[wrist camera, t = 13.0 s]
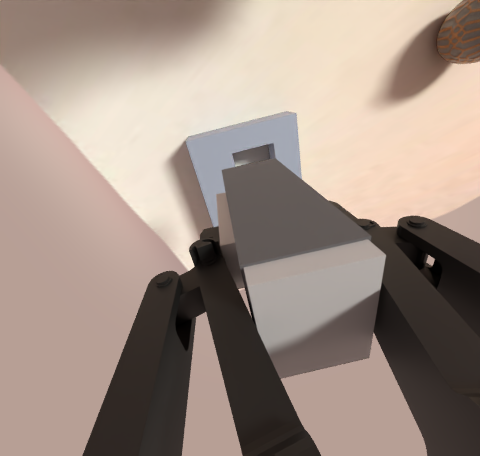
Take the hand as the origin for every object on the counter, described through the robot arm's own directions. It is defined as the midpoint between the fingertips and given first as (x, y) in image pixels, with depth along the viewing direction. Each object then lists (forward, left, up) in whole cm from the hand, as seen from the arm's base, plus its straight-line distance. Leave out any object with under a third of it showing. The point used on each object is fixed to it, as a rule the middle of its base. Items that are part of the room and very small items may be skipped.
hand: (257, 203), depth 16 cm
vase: (-7, +30, -20) cm, 37 cm away
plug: (0, 0, -2) cm, 2 cm away
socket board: (+6, +1, -19) cm, 20 cm away
